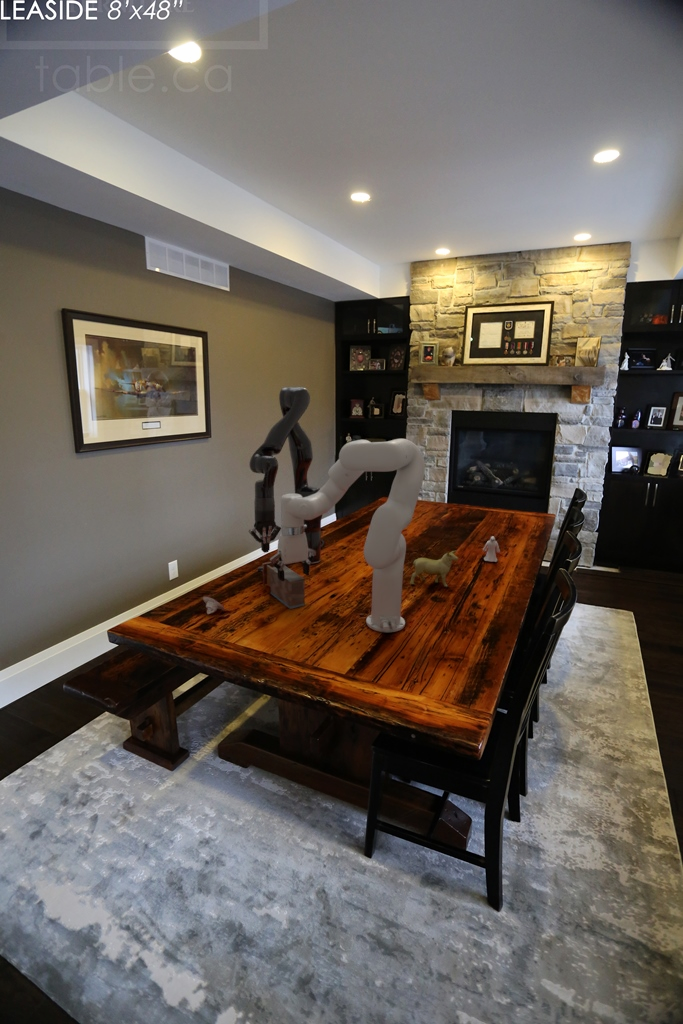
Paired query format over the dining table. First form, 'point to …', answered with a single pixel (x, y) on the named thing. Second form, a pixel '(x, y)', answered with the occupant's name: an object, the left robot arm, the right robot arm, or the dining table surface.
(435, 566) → the toy
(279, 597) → the cabinet
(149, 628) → the dining table surface
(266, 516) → the left robot arm
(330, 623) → the dining table surface
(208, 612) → the seashell
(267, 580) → the drawer
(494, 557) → the figurine
